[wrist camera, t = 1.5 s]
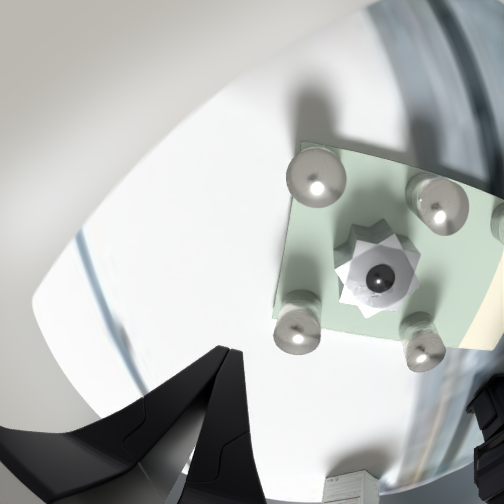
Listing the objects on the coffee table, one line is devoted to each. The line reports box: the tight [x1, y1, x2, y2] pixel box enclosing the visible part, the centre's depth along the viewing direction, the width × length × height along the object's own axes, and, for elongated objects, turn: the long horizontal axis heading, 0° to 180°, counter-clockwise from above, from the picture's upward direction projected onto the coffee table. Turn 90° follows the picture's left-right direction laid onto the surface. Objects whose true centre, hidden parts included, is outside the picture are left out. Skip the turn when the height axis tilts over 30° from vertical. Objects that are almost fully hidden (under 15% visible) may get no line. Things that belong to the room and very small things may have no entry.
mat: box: [272, 141, 504, 350], centre depth 17 cm, size 22×13×1 cm, turn 84°
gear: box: [333, 218, 421, 318], centre depth 16 cm, size 6×6×3 cm
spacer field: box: [273, 146, 504, 372], centre depth 16 cm, size 18×13×4 cm
